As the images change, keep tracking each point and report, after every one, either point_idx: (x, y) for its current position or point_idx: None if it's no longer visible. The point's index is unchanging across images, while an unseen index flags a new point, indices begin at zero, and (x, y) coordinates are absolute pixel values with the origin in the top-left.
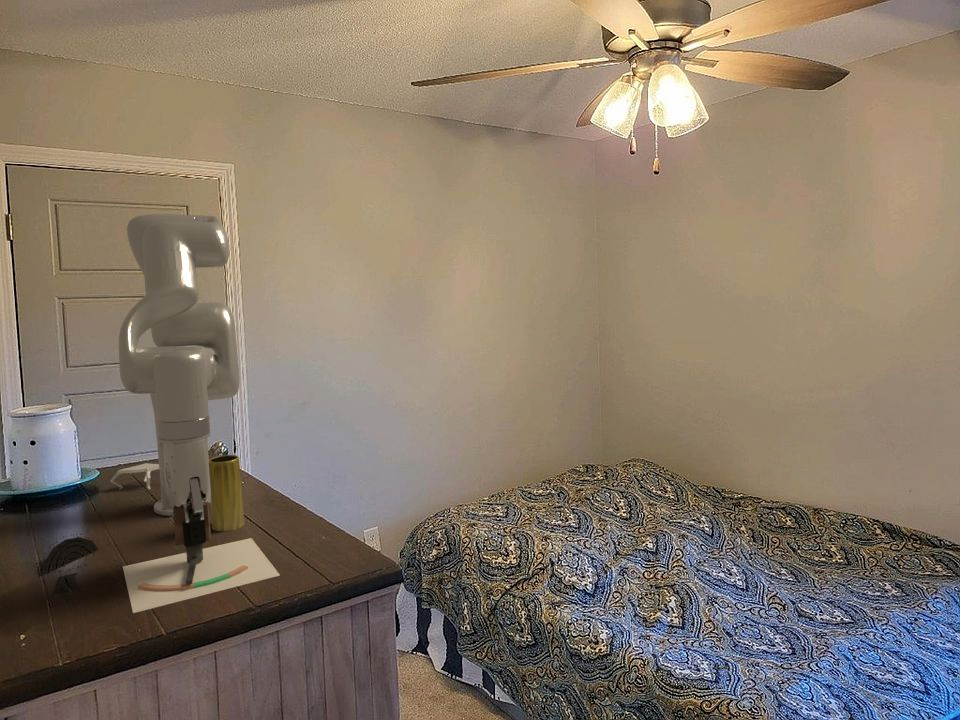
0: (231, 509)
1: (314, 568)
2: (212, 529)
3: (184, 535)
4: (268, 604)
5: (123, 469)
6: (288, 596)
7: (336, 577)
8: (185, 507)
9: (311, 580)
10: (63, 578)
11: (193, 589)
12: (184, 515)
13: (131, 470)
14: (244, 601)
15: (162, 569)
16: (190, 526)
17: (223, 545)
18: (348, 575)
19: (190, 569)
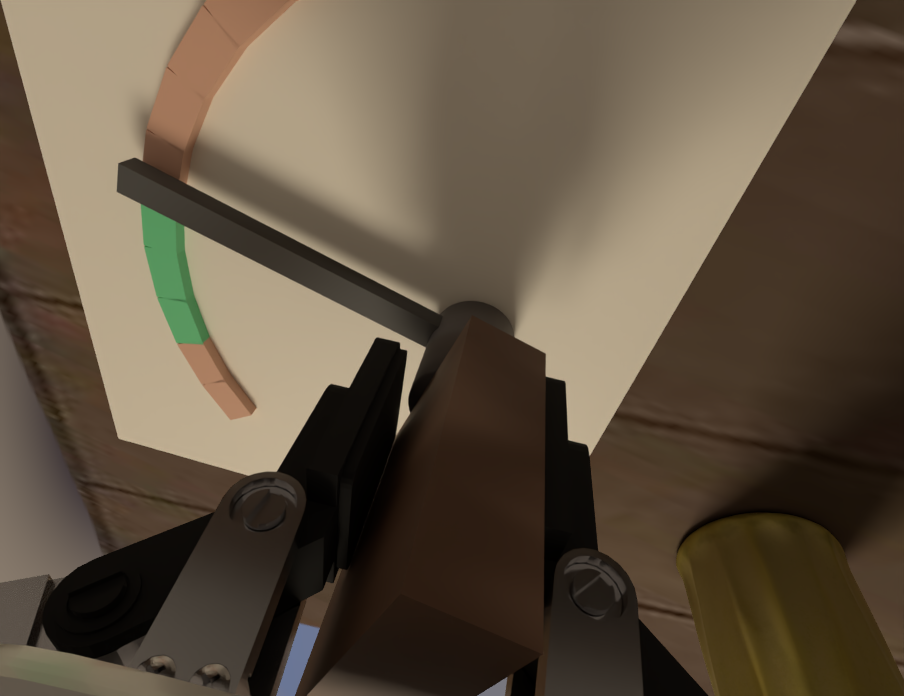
0: (728, 681)
1: (210, 511)
2: (804, 547)
3: (350, 390)
4: (8, 323)
5: None
6: (46, 384)
7: (120, 504)
8: (137, 651)
9: (131, 468)
10: None
11: None
12: (242, 546)
13: None
14: (61, 286)
15: (525, 171)
16: (279, 469)
17: None
18: (118, 521)
19: (267, 249)
